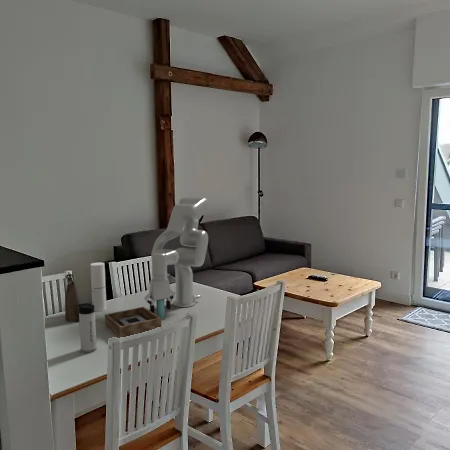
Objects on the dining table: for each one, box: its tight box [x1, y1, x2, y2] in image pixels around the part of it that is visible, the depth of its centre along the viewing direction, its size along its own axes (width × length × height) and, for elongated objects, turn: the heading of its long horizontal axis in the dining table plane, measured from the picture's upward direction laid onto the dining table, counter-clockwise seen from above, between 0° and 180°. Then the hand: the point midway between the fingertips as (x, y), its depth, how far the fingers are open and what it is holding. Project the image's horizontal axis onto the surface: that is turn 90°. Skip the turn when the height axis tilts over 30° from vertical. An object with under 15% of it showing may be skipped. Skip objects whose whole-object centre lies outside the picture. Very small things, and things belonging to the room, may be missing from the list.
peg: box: [155, 299, 166, 321], centre depth 221 cm, size 4×4×10 cm
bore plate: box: [118, 315, 146, 326], centre depth 208 cm, size 10×10×3 cm
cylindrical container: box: [90, 261, 107, 313], centre depth 234 cm, size 7×7×25 cm
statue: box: [64, 271, 80, 323], centre depth 219 cm, size 9×8×25 cm
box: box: [104, 306, 162, 339], centre depth 208 cm, size 20×20×6 cm
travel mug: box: [78, 302, 97, 354], centre depth 183 cm, size 6×7×20 cm
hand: (160, 310), depth 221 cm, fingers open, 8 cm apart
